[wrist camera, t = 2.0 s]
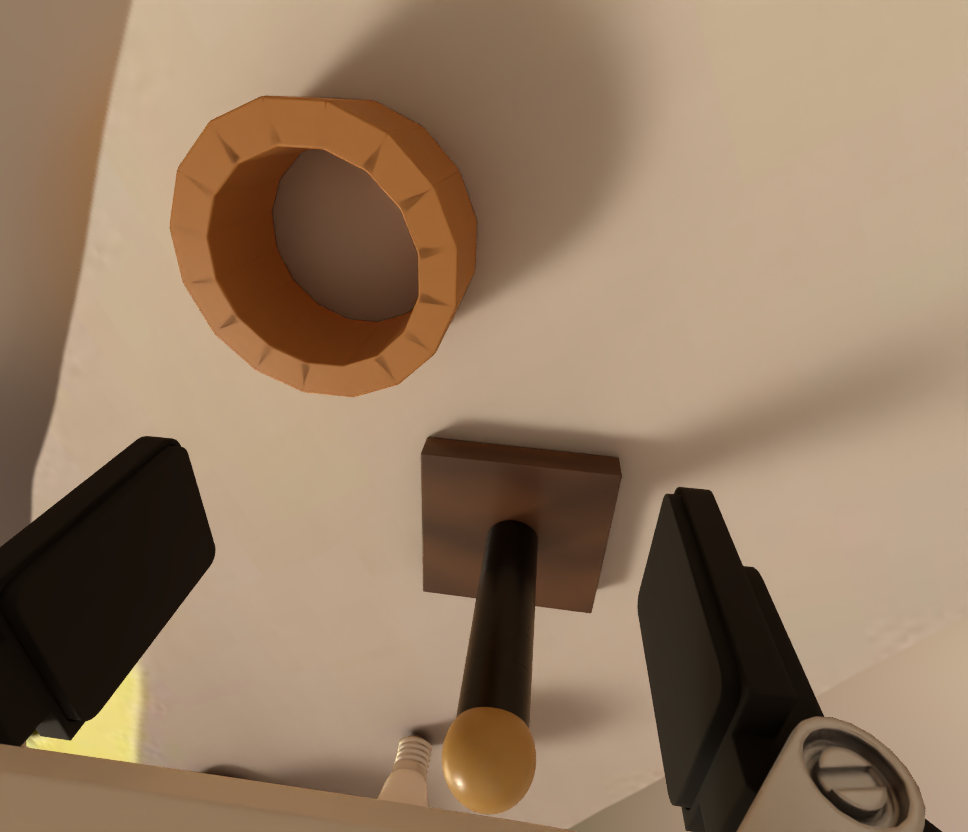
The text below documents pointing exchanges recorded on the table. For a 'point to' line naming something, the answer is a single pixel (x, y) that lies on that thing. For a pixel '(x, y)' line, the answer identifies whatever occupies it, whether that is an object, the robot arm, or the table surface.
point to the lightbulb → (409, 773)
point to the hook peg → (497, 679)
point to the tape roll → (261, 270)
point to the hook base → (516, 515)
